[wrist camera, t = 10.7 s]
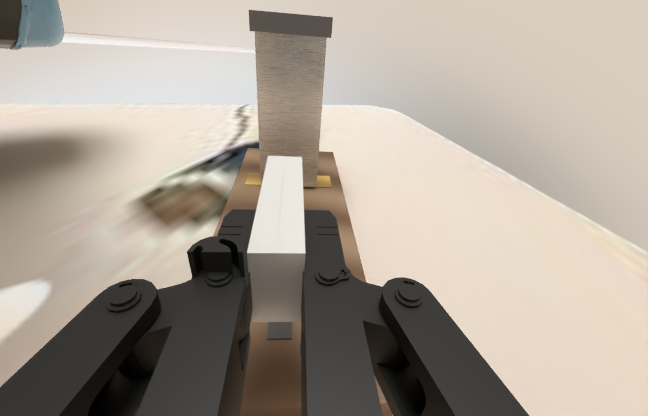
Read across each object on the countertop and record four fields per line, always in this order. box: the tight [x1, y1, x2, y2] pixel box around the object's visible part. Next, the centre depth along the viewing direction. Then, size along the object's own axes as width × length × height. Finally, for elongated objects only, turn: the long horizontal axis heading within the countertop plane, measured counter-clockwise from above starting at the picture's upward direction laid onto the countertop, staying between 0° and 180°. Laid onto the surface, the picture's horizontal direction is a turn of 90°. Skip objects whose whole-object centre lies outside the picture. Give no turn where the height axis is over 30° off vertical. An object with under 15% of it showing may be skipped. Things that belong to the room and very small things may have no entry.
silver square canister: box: [249, 10, 333, 187], centre depth 26 cm, size 6×6×13 cm
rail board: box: [214, 148, 392, 416], centre depth 24 cm, size 28×10×2 cm, turn 4°
